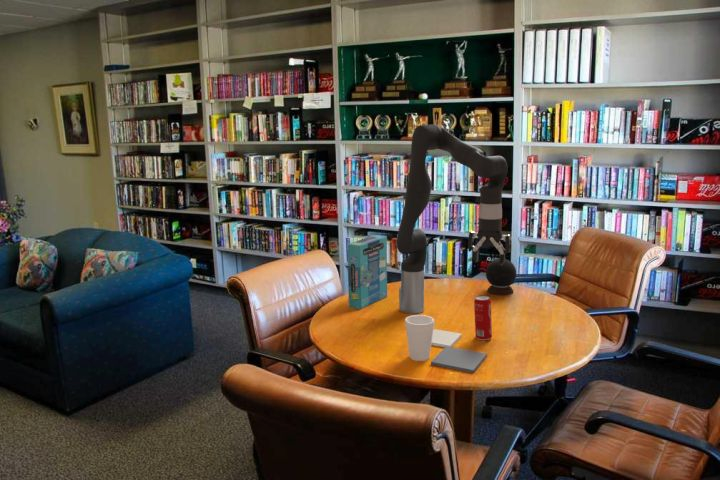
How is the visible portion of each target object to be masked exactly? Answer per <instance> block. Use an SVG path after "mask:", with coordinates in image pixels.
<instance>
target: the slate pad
mask: <svg viewBox="0 0 720 480" xmlns="http://www.w3.org/2000/svg"><path fill="white" fill-rule="evenodd" d="M487 355H488V353H486V352H481V351H474V350H469V349H464V348H459V347H453V346H452V347H448V346H446V347H443V349H442V350H440V352H439V353H438V354H437V355H436V356H435V357H434V358H433V359H432V360H431V362H430V365H431V366H435V367H442V368H445V369H451V370H456V371H459V372H460V371H462V372H465V373H466V372H467V373H470V374H471V373H472V374H474V373H475V372H476V371H477V370H478V368H479V367H480V366H481V364H483V362H484V361H485V360H486V358H487V357H488V356H487Z"/></svg>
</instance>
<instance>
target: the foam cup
mask: <svg viewBox="0 0 720 480" xmlns="http://www.w3.org/2000/svg"><path fill="white" fill-rule="evenodd" d="M404 326H405V331H406V338H407V346H408V353H409V358H410V359H411V360H413V361H416V362H425V361H427V360H429V358H430V354H431V348H432V345H431V342H432V335H433V329H435V319H434V317H432V316H430V315H424V314H412V315H410V316H406V317H405V319H404Z"/></svg>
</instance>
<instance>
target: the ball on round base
mask: <svg viewBox="0 0 720 480" xmlns="http://www.w3.org/2000/svg"><path fill="white" fill-rule="evenodd" d="M516 269H517V268H516V266H515V265H514V264H513V262H511V261H510V260H509V259H506V258H505V262H504V263H503V264H502V265H499V258H496V259H493V260H491V261H490V262H489V263H488V264H487V267H486V269H485V277H486V279H487V280H486V281H487V282H488V283H489V284H490V285H489V287H488V288H487V293H489V294H492V295H495V296H509V295H512V294H514V289H513V287H512V285H513V283H515V280H516V278H517V270H516Z"/></svg>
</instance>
